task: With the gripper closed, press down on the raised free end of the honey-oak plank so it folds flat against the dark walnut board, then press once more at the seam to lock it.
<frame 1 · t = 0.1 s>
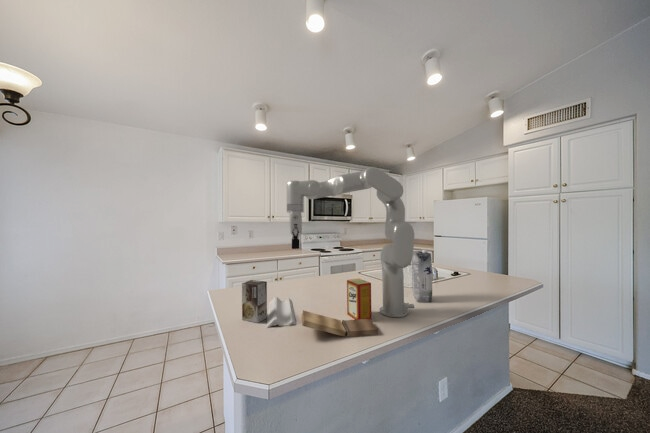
hand: (295, 247, 106), 31 cm above the table, tool pointing down, fingers open, 9 cm apart
walnut board: (359, 329, 93), on the table
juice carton: (422, 300, 129), on the table
coffee box: (254, 319, 105), on the table
baking soda box: (359, 317, 107), on the table
oak plank: (322, 322, 91), point 4 cm above the table, hinge at 18.0°
crown molding: (280, 314, 113), on the table
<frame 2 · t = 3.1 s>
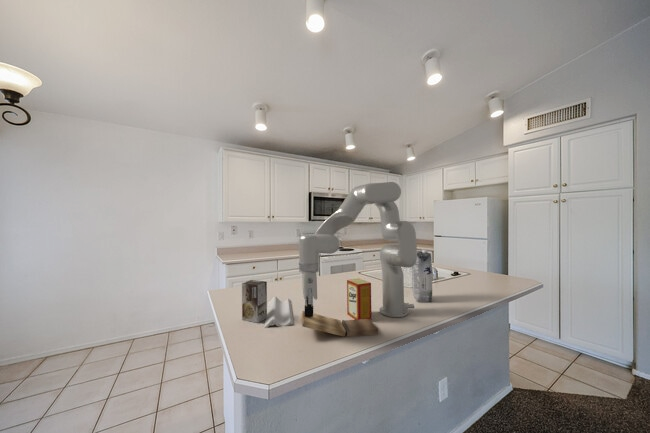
hand: (308, 316, 91), 7 cm above the table, tool pointing down, fingers closed
oak plank: (322, 323, 91), point 4 cm above the table, hinge at 17.1°, touching gripper
everything else where it was.
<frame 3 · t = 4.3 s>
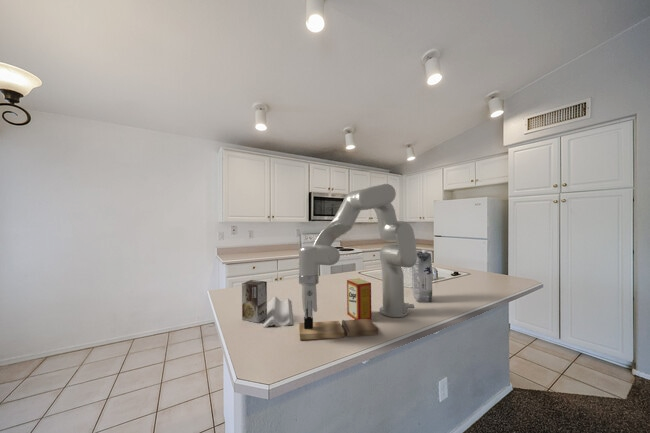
hand: (308, 327, 90), 2 cm above the table, tool pointing down, fingers closed
oak plank: (320, 329, 91), point 1 cm above the table, hinge at 0.7°, touching gripper
everything else where it was.
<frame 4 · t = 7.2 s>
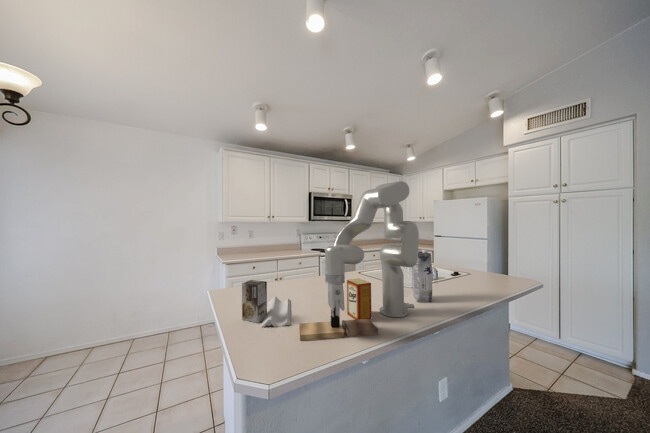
hand: (335, 326, 92), 2 cm above the table, tool pointing down, fingers closed
oak plank: (320, 330, 91), point 1 cm above the table, hinge at -0.2°, touching gripper
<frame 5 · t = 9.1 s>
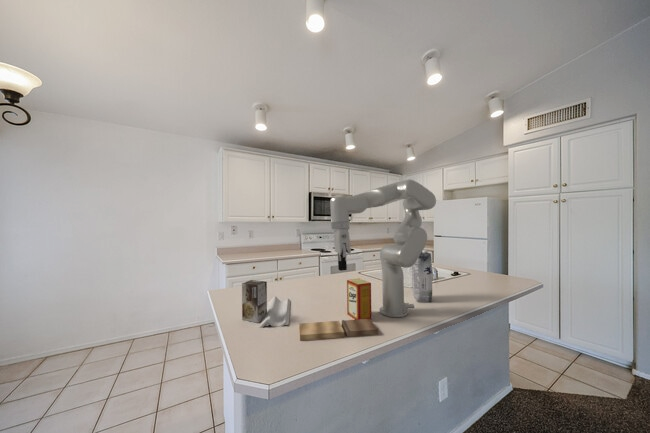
hand: (342, 269, 100), 22 cm above the table, tool pointing down, fingers closed
oak plank: (320, 330, 91), point 1 cm above the table, hinge at -0.2°
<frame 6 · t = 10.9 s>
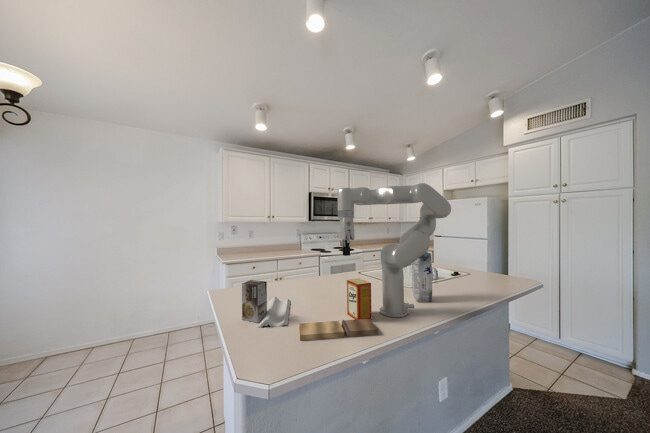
hand: (346, 255, 109), 27 cm above the table, tool pointing down, fingers closed
at the end: oak plank at +0° (first picture: +18°) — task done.
